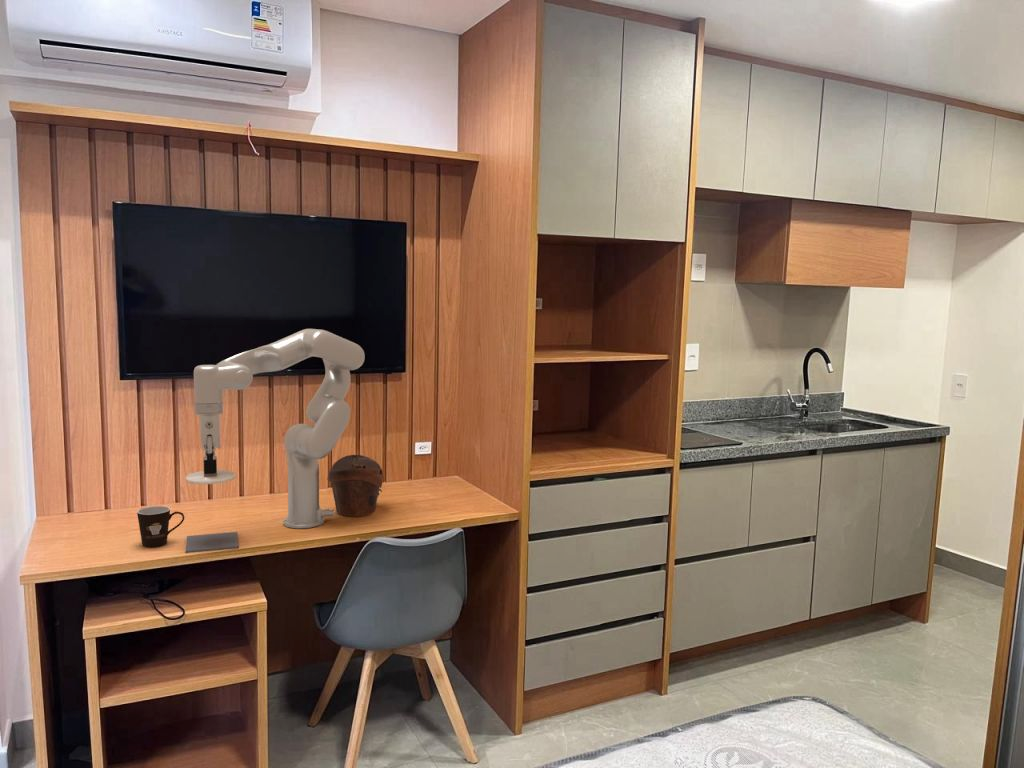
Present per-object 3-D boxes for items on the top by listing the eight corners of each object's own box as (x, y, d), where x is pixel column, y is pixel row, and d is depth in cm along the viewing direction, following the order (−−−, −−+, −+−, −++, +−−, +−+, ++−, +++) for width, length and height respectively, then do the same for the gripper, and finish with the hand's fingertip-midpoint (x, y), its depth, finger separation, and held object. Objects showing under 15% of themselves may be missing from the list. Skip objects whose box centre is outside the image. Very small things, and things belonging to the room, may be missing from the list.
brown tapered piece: (356, 523, 245) (356, 467, 243) (315, 512, 257) (315, 459, 255) (396, 512, 259) (397, 460, 258) (356, 502, 271) (356, 451, 270)
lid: (234, 472, 230) (233, 452, 229) (235, 482, 218) (234, 461, 217) (186, 475, 225) (186, 454, 224) (185, 485, 213) (184, 464, 212)
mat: (237, 533, 233) (237, 531, 233) (238, 547, 220) (238, 546, 220) (187, 537, 228) (187, 535, 228) (185, 552, 215) (185, 551, 215)
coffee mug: (133, 549, 217) (131, 514, 216) (145, 539, 225) (144, 506, 224) (175, 549, 218) (174, 514, 216) (186, 539, 226) (185, 506, 225)
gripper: (223, 412, 213) (224, 477, 215) (222, 404, 228) (223, 464, 230) (194, 413, 210) (195, 479, 212) (195, 404, 225) (196, 466, 228)
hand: (210, 471), depth 221 cm, fingers closed on lid, 3 cm apart
